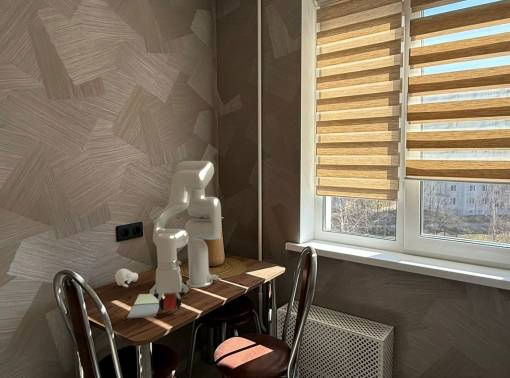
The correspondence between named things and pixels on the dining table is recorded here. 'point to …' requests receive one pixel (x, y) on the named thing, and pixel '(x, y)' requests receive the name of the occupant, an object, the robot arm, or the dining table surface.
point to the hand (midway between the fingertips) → (170, 307)
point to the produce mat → (146, 299)
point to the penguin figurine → (125, 277)
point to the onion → (170, 302)
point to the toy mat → (143, 311)
